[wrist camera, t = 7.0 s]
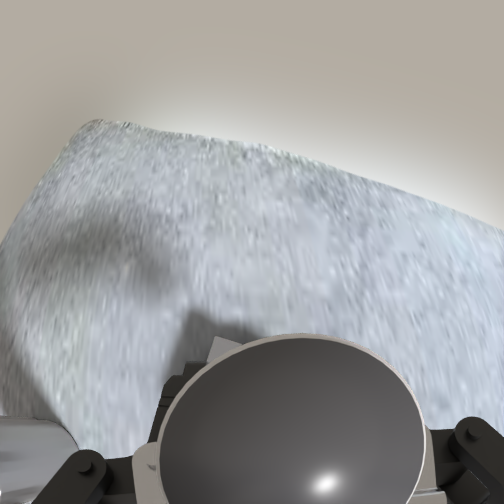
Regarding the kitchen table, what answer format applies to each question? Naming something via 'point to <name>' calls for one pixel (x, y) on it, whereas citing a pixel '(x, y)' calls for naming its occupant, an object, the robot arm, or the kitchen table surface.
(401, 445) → the lens
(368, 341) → the kitchen table surface
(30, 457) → the robot arm
